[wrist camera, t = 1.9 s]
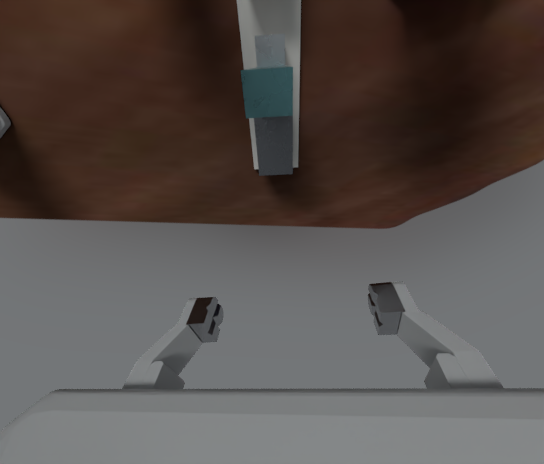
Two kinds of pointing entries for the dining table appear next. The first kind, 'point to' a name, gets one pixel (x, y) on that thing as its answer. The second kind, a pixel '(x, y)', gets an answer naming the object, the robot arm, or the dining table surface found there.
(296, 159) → the base board
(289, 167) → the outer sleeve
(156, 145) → the dining table surface
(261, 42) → the teal oblong box
